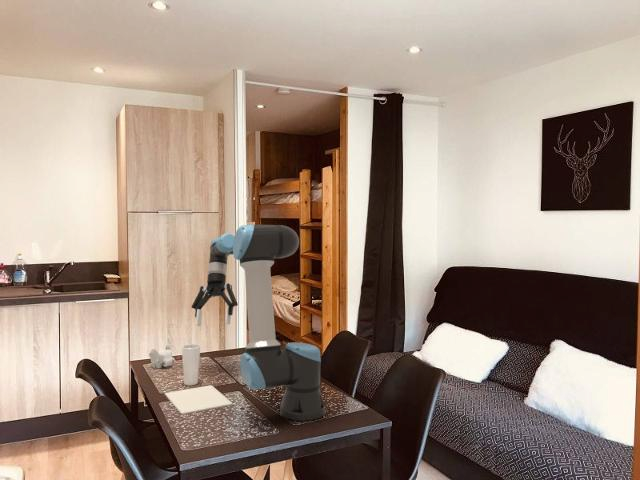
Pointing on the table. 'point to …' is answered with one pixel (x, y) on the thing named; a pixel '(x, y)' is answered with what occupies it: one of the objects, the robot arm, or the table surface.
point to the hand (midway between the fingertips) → (212, 324)
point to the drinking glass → (190, 363)
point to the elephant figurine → (161, 357)
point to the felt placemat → (197, 399)
